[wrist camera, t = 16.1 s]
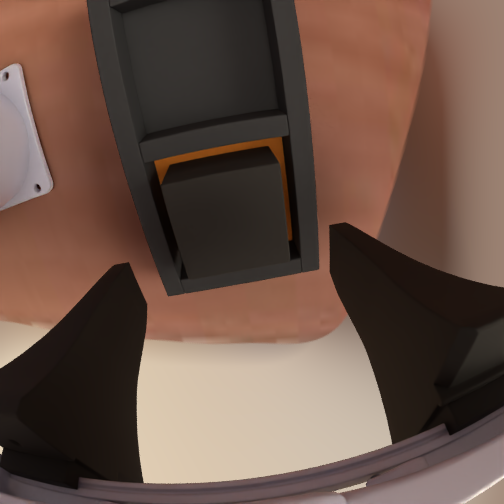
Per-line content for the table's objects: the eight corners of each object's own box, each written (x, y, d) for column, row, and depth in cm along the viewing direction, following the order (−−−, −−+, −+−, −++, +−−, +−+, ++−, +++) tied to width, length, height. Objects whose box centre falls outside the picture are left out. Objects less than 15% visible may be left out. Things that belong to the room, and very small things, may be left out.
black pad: (191, 248, 18) (188, 280, 15) (169, 164, 15) (159, 185, 12) (279, 232, 18) (291, 262, 15) (268, 145, 15) (280, 162, 13)
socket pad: (171, 270, 19) (167, 296, 17) (103, 5, 10) (85, -3, 8) (308, 245, 19) (319, 269, 17) (275, -30, 11) (285, -45, 8)
